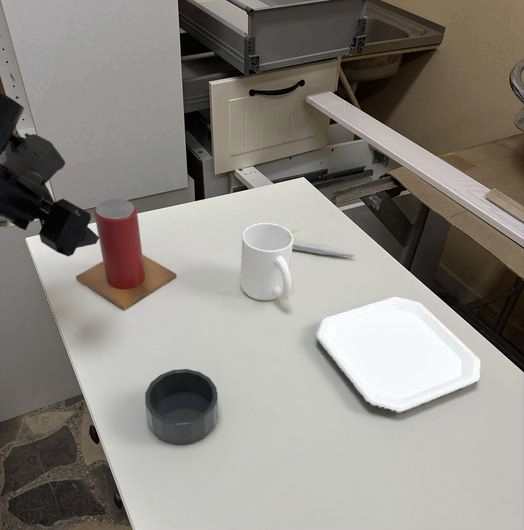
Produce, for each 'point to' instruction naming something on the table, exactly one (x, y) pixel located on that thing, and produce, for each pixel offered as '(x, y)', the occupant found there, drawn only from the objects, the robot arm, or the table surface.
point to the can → (120, 243)
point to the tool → (319, 249)
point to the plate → (398, 353)
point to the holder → (181, 406)
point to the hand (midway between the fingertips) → (76, 228)
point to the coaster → (127, 297)
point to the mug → (266, 261)
